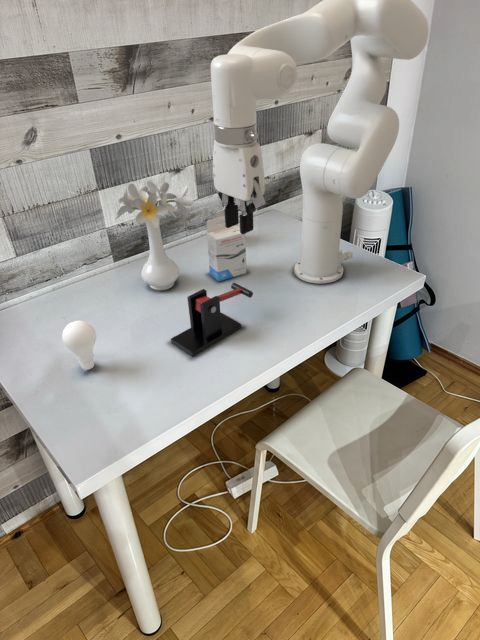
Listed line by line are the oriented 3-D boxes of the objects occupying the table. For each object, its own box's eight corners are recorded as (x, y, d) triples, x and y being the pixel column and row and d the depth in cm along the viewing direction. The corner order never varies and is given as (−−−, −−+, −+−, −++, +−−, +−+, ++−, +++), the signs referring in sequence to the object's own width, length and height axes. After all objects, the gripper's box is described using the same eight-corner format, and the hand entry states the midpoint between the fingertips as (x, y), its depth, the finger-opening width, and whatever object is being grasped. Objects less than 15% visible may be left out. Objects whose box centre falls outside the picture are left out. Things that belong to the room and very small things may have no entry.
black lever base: (220, 316, 115) (217, 278, 109) (241, 328, 111) (239, 290, 105) (171, 343, 107) (165, 304, 101) (192, 357, 104) (187, 317, 98)
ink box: (218, 282, 127) (214, 227, 118) (209, 274, 130) (204, 220, 121) (247, 273, 131) (245, 219, 122) (237, 265, 134) (235, 212, 125)
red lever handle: (235, 289, 114) (235, 280, 113) (252, 298, 111) (253, 288, 110) (190, 306, 106) (190, 296, 104) (207, 316, 103) (207, 306, 101)
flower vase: (207, 277, 129) (199, 180, 114) (150, 307, 118) (132, 204, 103) (174, 261, 136) (161, 167, 121) (117, 288, 125) (95, 189, 110)
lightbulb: (75, 381, 98) (60, 336, 91) (71, 363, 102) (56, 318, 96) (106, 373, 100) (94, 328, 93) (101, 355, 104) (89, 311, 97)
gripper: (283, 138, 89) (282, 234, 100) (219, 121, 98) (225, 212, 109) (253, 147, 85) (255, 247, 96) (190, 129, 94) (198, 223, 105)
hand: (239, 227), depth 103 cm, fingers open, 3 cm apart
